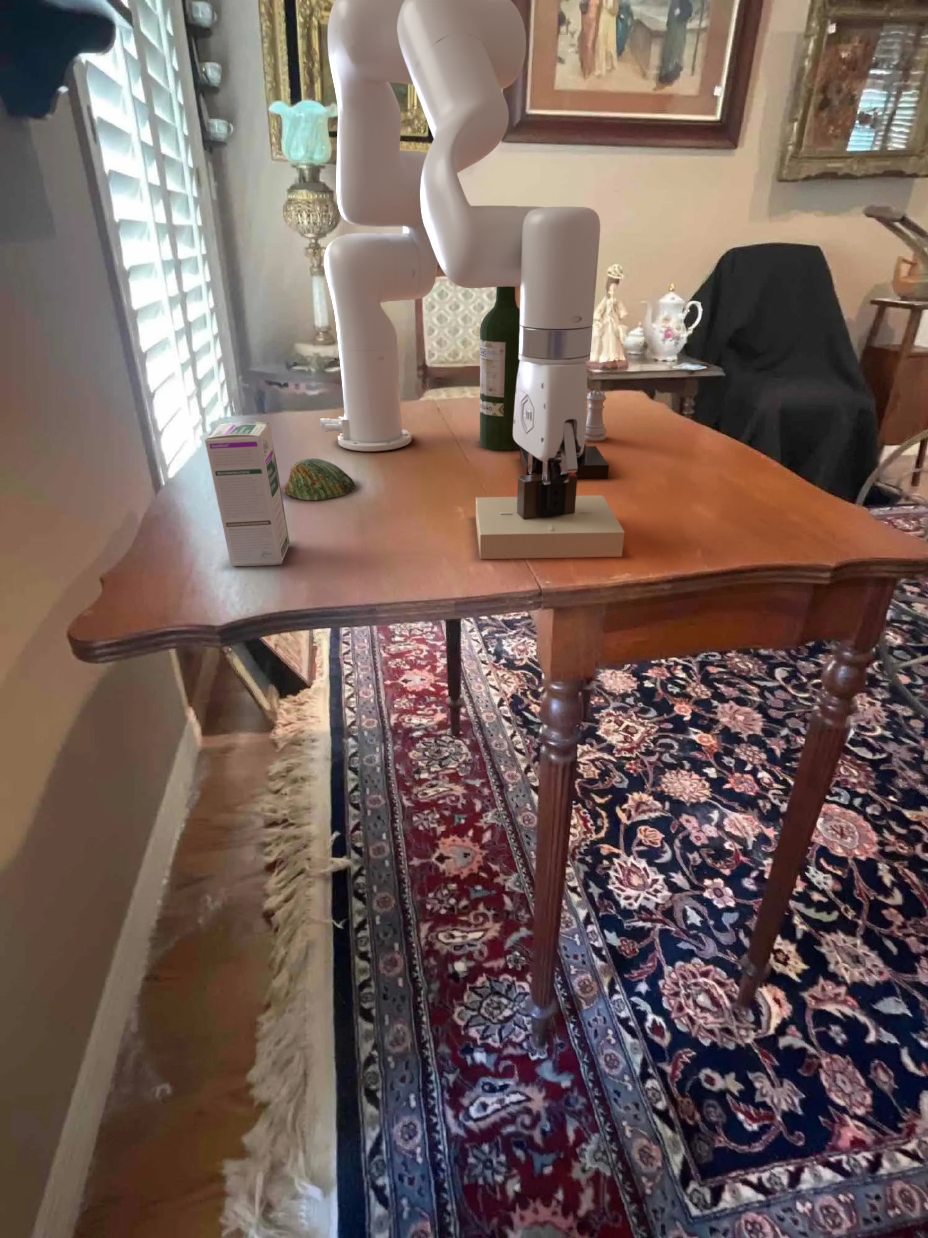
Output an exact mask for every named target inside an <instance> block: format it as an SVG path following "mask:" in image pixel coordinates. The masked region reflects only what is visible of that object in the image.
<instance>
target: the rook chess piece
mask: <svg viewBox="0 0 928 1238" xmlns="http://www.w3.org/2000/svg"><path fill="white" fill-rule="evenodd" d="M606 399H607V396H606V395H605V391H602V390H598V391H597V390H594V389H593V390H590V391H589V394H587V402H588V404H587V420H586V435H585V442H591V443H598V442H603V441H604V440H606V438H607V436H606V435H605V434H606V433H607V429H606V427H605V424H604V417H603V412H604V408H605V406H604V402H605V401H606Z"/></svg>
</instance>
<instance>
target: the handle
mask: <svg viewBox="0 0 928 1238" xmlns="http://www.w3.org/2000/svg"><path fill="white" fill-rule="evenodd" d="M539 483H543V482H542V474H535V475H518V476H517V492H516V493H517V496H516V497H517V513H518V514H519V515H520V516H521V517H522V518H523V519H530V518H538V517H540V516H539V515H538V492H539ZM577 489H578V480H577V476H576V474H575V473H571V474H570V475H569V481H568V483H567V486H566V501H565V513H564V514H571V513H575V502H576V496H577Z"/></svg>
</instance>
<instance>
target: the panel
mask: <svg viewBox="0 0 928 1238" xmlns="http://www.w3.org/2000/svg"><path fill="white" fill-rule="evenodd" d="M475 523H476V524H475V525H476V533H477V542H478V551H479V552H478V553H479V559H480V560H500V559H501V560H502V559H503V560H505V559H506V560H508V559H514V560H515V559H561V558H566V559H567V558H568V559H569V558H570V559H571V558H614V557H616V558H618V557H623V550H624V540H625V530H624V529H623V527H622V525H621V523H620V522H619V520H618V519H617V516H616V515H615V513H614V512H613V510H612V508H611V507H610V505H609V503H608V501H607V500H606V498H605V497H604V495H601V494H600V495H598V494H597V495H576V502H575V513H571V514H563V515H559V516H551V517H543V518H541V517H538V518H530V519H523V518H522V517H521V516H520V515H519V514H518V513H517V496H480V497H479V496H478V497H475Z"/></svg>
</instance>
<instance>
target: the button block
mask: <svg viewBox="0 0 928 1238" xmlns="http://www.w3.org/2000/svg"><path fill="white" fill-rule="evenodd" d="M557 454H561V451H558V452H557ZM519 462H520V466H521V468H522V472H523V476H525V475H533V474H529V472H528V454H527V451H526V450H525V449H523V448H522V447H520V449H519ZM559 463H561V462H556V463H554V464H553V466H554V465H557V464H559ZM577 466H578V469H577V472H574V473H575V474H576V476H577V481H578V480H579V481H580V480H581V481H582V480H585V481H586V480H588V481H589V480H608V479H609V469H610V464H609V462H608V461H607V460H606V459H605V457H604V456H603V454H602V453H601V451H600V450H599V448H598V447H597V446H596V445H587V444H586V442H585V443H584V449H583V453H582V454H581V456H579V457H578V458H577Z"/></svg>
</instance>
